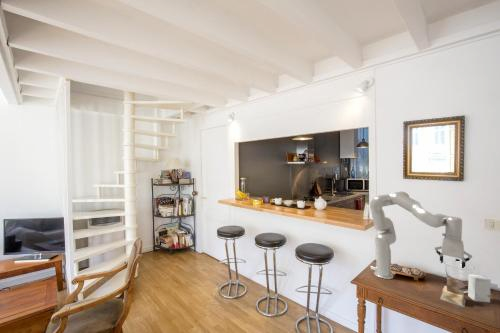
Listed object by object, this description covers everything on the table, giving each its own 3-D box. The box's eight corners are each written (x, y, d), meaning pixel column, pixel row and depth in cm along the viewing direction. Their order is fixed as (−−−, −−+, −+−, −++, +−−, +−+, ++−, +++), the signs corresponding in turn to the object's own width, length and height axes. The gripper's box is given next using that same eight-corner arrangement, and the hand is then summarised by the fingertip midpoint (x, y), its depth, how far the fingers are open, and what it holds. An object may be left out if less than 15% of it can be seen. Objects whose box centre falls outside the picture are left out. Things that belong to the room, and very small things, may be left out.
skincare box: (474, 302, 140) (475, 278, 140) (467, 297, 146) (467, 273, 146) (491, 304, 138) (491, 279, 138) (482, 298, 144) (483, 274, 144)
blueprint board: (430, 298, 144) (430, 296, 144) (434, 290, 154) (434, 288, 154) (475, 313, 130) (475, 311, 130) (476, 303, 139) (476, 301, 139)
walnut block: (446, 290, 142) (446, 279, 142) (448, 287, 145) (448, 276, 145) (457, 294, 138) (457, 282, 138) (458, 291, 142) (458, 279, 142)
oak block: (442, 299, 142) (442, 290, 142) (444, 293, 148) (444, 285, 148) (462, 305, 135) (462, 296, 135) (463, 299, 142) (463, 291, 142)
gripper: (434, 235, 145) (433, 262, 146) (472, 242, 133) (471, 272, 133) (436, 232, 150) (435, 258, 151) (473, 239, 138) (472, 268, 138)
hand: (452, 265), depth 142 cm, fingers open, 9 cm apart
